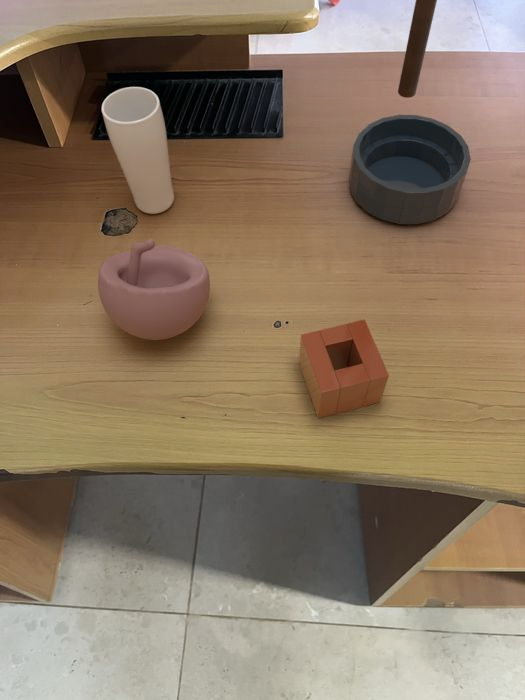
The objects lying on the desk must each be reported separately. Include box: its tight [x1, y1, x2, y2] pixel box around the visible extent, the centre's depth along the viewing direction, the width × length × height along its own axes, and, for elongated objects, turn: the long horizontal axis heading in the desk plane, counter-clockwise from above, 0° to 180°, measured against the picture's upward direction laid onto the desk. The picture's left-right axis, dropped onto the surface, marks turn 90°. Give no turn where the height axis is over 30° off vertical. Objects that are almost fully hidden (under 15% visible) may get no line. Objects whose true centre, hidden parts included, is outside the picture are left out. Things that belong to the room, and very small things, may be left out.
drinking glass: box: [101, 86, 175, 215], centre depth 71 cm, size 7×7×15 cm
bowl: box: [348, 114, 472, 225], centre depth 75 cm, size 15×15×6 cm
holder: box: [298, 318, 390, 419], centre depth 60 cm, size 7×7×6 cm
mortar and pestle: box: [97, 238, 211, 341], centre depth 63 cm, size 12×12×12 cm
